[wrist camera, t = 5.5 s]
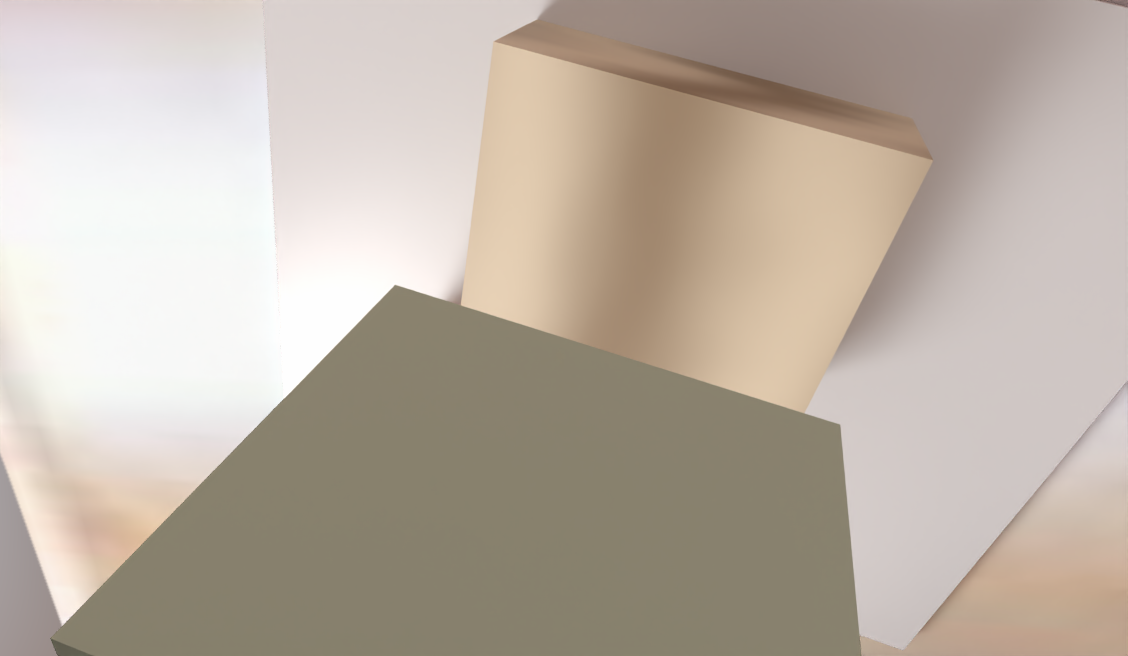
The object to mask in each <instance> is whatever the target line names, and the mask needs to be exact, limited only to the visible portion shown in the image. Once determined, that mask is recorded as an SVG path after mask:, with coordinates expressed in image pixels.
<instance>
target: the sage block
mask: <svg viewBox="0 0 1128 656" xmlns="http://www.w3.org/2000/svg"><path fill="white" fill-rule="evenodd" d="M50 639H51V641H52V643H53V646H54V648H55V651H56V653H57V655H58V656H861V646H860V635H859V624H858V613H857V602H856V591H855V580H854V569H853V558H852V548H851V537H850V526H849V515H848V504H847V493H846V482H845V471H844V460H843V449H842V438H841V427H840V424H837V423H834V422H830V421H827V420H824V419H821V418H818V417H814V416H811V415H808V414H805V413H802V412H799V411H795V410H792V409H789V408H786V407H783V406H779V405H776V404H773V403H770V402H767V401H764V400H760V399H757V398H754V397H751V396H748V395H744V394H741V393H738V392H735V391H732V390H729V389H725V388H722V387H719V386H716V385H713V384H709V383H706V382H703V381H700V380H697V379H694V378H690V377H687V376H684V375H681V374H678V373H674V372H671V371H668V370H665V369H662V368H659V367H655V366H652V365H649V364H646V363H643V362H639V361H636V360H633V359H630V358H627V357H624V356H620V355H617V354H614V353H611V352H608V351H604V350H601V349H598V348H595V347H592V346H589V345H585V344H582V343H579V342H576V341H573V340H569V339H566V338H563V337H560V336H557V335H554V334H550V333H547V332H544V331H541V330H538V329H534V328H531V327H528V326H525V325H522V324H519V323H515V322H512V321H509V320H506V319H503V318H499V317H496V316H493V315H490V314H487V313H484V312H480V311H477V310H474V309H471V308H468V307H464V306H461V305H458V304H455V303H452V302H449V301H445V300H442V299H439V298H436V297H433V296H429V295H426V294H423V293H420V292H417V291H414V290H410V289H407V288H404V287H401V286H398V285H394V286H393V287H392V288H391V290H390V291H389V292H388V293H387V294H386V295H385V296H384V297H383V298H382V299H381V300H380V301H379V302H378V303H377V304H376V305H375V306H374V307H373V308H372V309H371V310H370V311H369V312H368V313H367V314H366V315H365V316H364V317H363V318H362V319H361V320H360V321H359V322H358V323H357V324H356V325H355V326H354V327H353V328H352V330H351V331H350V332H349V333H348V334H347V335H346V336H345V337H344V338H343V339H342V340H341V341H340V342H339V343H338V344H337V345H336V346H335V347H334V348H333V349H332V350H331V351H330V352H329V353H328V354H327V355H326V356H325V357H324V358H323V359H322V360H321V361H320V362H319V363H318V364H317V365H316V366H315V367H314V368H313V370H312V371H311V372H310V373H309V374H308V375H307V376H306V377H305V378H304V379H303V380H302V381H301V382H300V383H299V384H298V385H297V386H296V387H295V388H294V389H293V390H292V391H291V392H290V393H289V394H288V395H287V396H286V397H285V398H284V399H283V400H282V401H281V402H280V403H279V404H278V405H277V406H276V407H275V408H274V409H273V411H272V412H271V413H270V414H269V415H268V416H267V417H266V418H265V419H264V420H263V421H262V422H261V423H260V424H259V425H258V426H257V427H256V428H255V429H254V430H253V431H252V432H251V433H250V434H249V435H248V436H247V437H246V438H245V439H244V440H243V441H242V442H241V443H240V444H239V445H238V446H237V447H236V448H235V449H234V451H233V452H232V453H231V454H230V455H229V456H228V457H227V458H226V459H225V460H224V461H223V462H222V463H221V464H220V465H219V466H218V467H217V468H216V469H215V470H214V471H213V472H212V473H211V474H210V475H209V476H208V477H207V478H206V479H205V480H204V481H203V482H202V483H201V484H200V485H199V486H198V487H197V488H196V489H195V491H194V492H193V493H192V494H191V495H190V496H189V497H188V498H187V499H186V500H185V501H184V502H183V503H182V504H181V505H180V506H179V507H178V508H177V509H176V510H175V511H174V512H173V513H172V514H171V515H170V516H169V517H168V518H167V519H166V520H165V521H164V522H163V523H162V524H161V525H160V526H159V527H158V528H157V529H156V531H155V532H154V533H153V534H152V535H151V536H150V537H149V538H148V539H147V540H146V541H145V542H144V543H143V544H142V545H141V546H140V547H139V548H138V549H137V550H136V551H135V552H134V553H133V554H132V555H131V556H130V557H129V558H128V559H127V560H126V561H125V562H124V563H123V564H122V565H121V566H120V567H119V568H118V569H117V570H116V572H115V573H114V574H113V575H112V576H111V577H110V578H109V579H108V580H107V581H106V582H105V583H104V584H103V585H102V586H101V587H100V588H99V589H98V590H97V591H96V592H95V593H94V594H93V595H92V596H91V597H90V598H89V599H88V600H87V601H86V602H85V603H84V604H83V605H82V606H81V607H80V608H79V609H78V610H77V612H76V613H75V614H74V615H73V616H72V617H71V618H70V619H69V620H68V621H67V622H66V623H65V624H64V625H63V626H62V627H61V628H60V629H59V630H58V631H57V632H56V633H55V634H54V635H53V636H52V637H51V638H50Z"/></svg>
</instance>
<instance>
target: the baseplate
mask: <svg viewBox="0 0 1128 656" xmlns="http://www.w3.org/2000/svg"><path fill="white" fill-rule="evenodd" d="M263 15H264V34H265V52H266V71H267V90H268V109H269V128H270V147H271V165H272V184H273V203H274V222H275V241H276V259H277V278H278V297H279V316H280V335H281V354H282V372H283V391H284V398H285V397H286V396H287V395H288V394H289V393H290V392H291V391H292V390H293V389H294V388H295V387H296V386H297V385H298V384H299V383H300V382H301V381H302V380H303V379H304V378H305V377H306V376H307V375H308V374H309V373H310V372H311V371H312V370H313V368H314V367H315V366H316V365H317V364H318V363H319V362H320V361H321V360H322V359H323V358H324V357H325V356H326V355H327V354H328V353H329V352H330V351H331V350H332V349H333V348H334V347H335V346H336V345H337V344H338V343H339V342H340V341H341V340H342V339H343V338H344V337H345V336H346V335H347V334H348V333H349V332H350V331H351V330H352V328H353V327H354V326H355V325H356V324H357V323H358V322H359V321H360V320H361V319H362V318H363V317H364V316H365V315H366V314H367V313H368V312H369V311H370V310H371V309H372V308H373V307H374V306H375V305H376V304H377V303H378V302H379V301H380V300H381V299H382V298H383V297H384V296H385V295H386V294H387V293H388V292H389V291H390V290H391V288H392V287H393V286H394V285H398V286H401V287H404V288H407V289H410V290H414V291H417V292H420V293H423V294H426V295H429V296H433V297H436V298H439V299H442V300H445V301H449V302H452V303H455V304H458V305H461V300H462V291H463V283H464V275H465V267H466V259H467V251H468V243H469V235H470V227H471V218H472V210H473V202H474V194H475V186H476V178H477V170H478V162H479V154H480V145H481V137H482V129H483V121H484V113H485V105H486V97H487V89H488V81H489V72H490V64H491V56H492V48H493V41H495V40H497V39H499V38H501V37H503V36H505V35H507V34H509V33H511V32H513V31H515V30H517V29H519V28H521V27H523V26H525V25H527V24H529V23H531V22H533V21H535V20H541V21H545V22H549V23H553V24H556V25H560V26H564V27H568V28H572V29H575V30H579V31H583V32H587V33H590V34H594V35H598V36H602V37H606V38H609V39H613V40H617V41H621V42H625V43H628V44H632V45H636V46H640V47H644V48H647V49H651V50H655V51H659V52H662V53H666V54H670V55H674V56H678V57H681V58H685V59H689V60H693V61H697V62H700V63H704V64H708V65H712V66H716V67H719V68H723V69H727V70H731V71H734V72H738V73H742V74H746V75H750V76H753V77H757V78H761V79H765V80H769V81H772V82H776V83H780V84H784V85H788V86H791V87H795V88H799V89H803V90H806V91H810V92H814V93H818V94H822V95H825V96H829V97H833V98H837V99H841V100H844V101H848V102H852V103H856V104H860V105H863V106H867V107H871V108H875V109H878V110H882V111H886V112H890V113H894V114H897V115H901V116H905V117H909V118H912V119H913V121H914V123H915V125H916V127H917V129H918V131H919V133H920V135H921V137H922V139H923V141H924V143H925V145H926V147H927V149H928V151H929V153H930V155H931V157H932V159H933V162H932V164H931V166H930V168H929V170H928V172H927V174H926V176H925V178H924V180H923V182H922V184H921V186H920V188H919V190H918V192H917V193H916V195H915V197H914V199H913V201H912V203H911V205H910V207H909V209H908V211H907V213H906V215H905V217H904V219H903V221H902V223H901V225H900V227H899V229H898V231H897V233H896V235H895V237H894V239H893V241H892V242H891V244H890V246H889V248H888V250H887V252H886V254H885V256H884V258H883V260H882V262H881V264H880V266H879V268H878V270H877V272H876V274H875V276H874V278H873V280H872V282H871V284H870V286H869V288H868V290H867V291H866V293H865V295H864V297H863V299H862V301H861V303H860V305H859V307H858V309H857V311H856V313H855V315H854V317H853V319H852V321H851V323H850V325H849V327H848V329H847V331H846V333H845V335H844V337H843V339H842V340H841V342H840V344H839V346H838V348H837V350H836V352H835V354H834V356H833V358H832V360H831V362H830V364H829V366H828V368H827V370H826V372H825V374H824V376H823V378H822V380H821V382H820V384H819V386H818V388H817V389H816V391H815V393H814V395H813V397H812V399H811V401H810V403H809V405H808V407H807V409H806V411H805V414H808V415H811V416H814V417H818V418H821V419H824V420H827V421H830V422H834V423H837V424H840V427H841V438H842V449H843V460H844V471H845V482H846V493H847V504H848V515H849V526H850V537H851V548H852V558H853V569H854V580H855V591H856V602H857V613H858V624H859V635H861V636H864V637H867V638H869V639H872V640H875V641H878V642H881V643H883V644H886V645H889V646H892V647H895V648H897V649H900V650H904V649H905V648H906V647H907V645H908V644H909V643H910V642H911V641H912V639H913V638H914V637H915V636H916V635H917V633H918V632H919V631H920V630H921V629H922V627H923V626H924V625H925V624H926V623H927V621H928V620H929V619H930V618H931V617H932V615H933V614H934V613H935V612H936V611H937V609H938V608H939V607H940V606H941V605H942V603H943V602H944V601H945V600H946V598H947V597H948V596H949V595H950V594H951V592H952V591H953V590H954V589H955V588H956V586H957V585H958V584H959V583H960V582H961V580H962V579H963V578H964V577H965V576H966V574H967V573H968V572H969V571H970V570H971V568H972V567H973V566H974V565H975V564H976V562H977V561H978V560H979V559H980V558H981V556H982V555H983V554H984V553H985V552H986V550H987V549H988V548H989V547H990V546H991V544H992V543H993V542H994V541H995V540H996V538H997V537H998V536H999V535H1000V534H1001V532H1002V531H1003V530H1004V529H1005V528H1006V526H1007V525H1008V524H1009V523H1010V521H1011V520H1012V519H1013V518H1014V517H1015V515H1016V514H1017V513H1018V512H1019V511H1020V509H1021V508H1022V507H1023V506H1024V505H1025V503H1026V502H1027V501H1028V500H1029V499H1030V497H1031V496H1032V495H1033V494H1034V493H1035V491H1036V490H1037V489H1038V488H1039V487H1040V485H1041V484H1042V483H1043V482H1044V481H1045V479H1046V478H1047V477H1048V476H1049V475H1050V473H1051V472H1052V471H1053V470H1054V469H1055V467H1056V466H1057V465H1058V464H1059V463H1060V461H1061V460H1062V459H1063V458H1064V457H1065V455H1066V454H1067V453H1068V452H1069V451H1070V449H1071V448H1072V447H1073V446H1074V444H1075V443H1076V442H1077V441H1078V440H1079V438H1080V437H1081V436H1082V435H1083V434H1084V432H1085V431H1086V430H1087V429H1088V428H1089V426H1090V425H1091V424H1092V423H1093V422H1094V420H1095V419H1096V418H1097V417H1098V416H1099V414H1100V413H1101V412H1102V411H1103V410H1104V408H1105V407H1106V406H1107V405H1108V404H1109V402H1110V401H1111V400H1112V399H1113V398H1114V396H1115V395H1116V394H1117V393H1118V392H1119V390H1120V389H1121V388H1122V387H1123V386H1124V384H1125V383H1126V382H1127V381H1128V7H1127V6H1122V5H1118V4H1114V3H1110V2H1105V1H1101V0H263Z"/></svg>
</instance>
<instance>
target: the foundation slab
mask: <svg viewBox="0 0 1128 656" xmlns="http://www.w3.org/2000/svg"><path fill="white" fill-rule="evenodd" d="M932 162H933V159H932V157H931V155H930V153H929V151H928V149H927V147H926V145H925V143H924V141H923V139H922V137H921V135H920V133H919V131H918V129H917V127H916V125H915V123H914V121H913V119H912V118H909V117H905V116H901V115H897V114H894V113H890V112H886V111H882V110H878V109H875V108H871V107H867V106H863V105H860V104H856V103H852V102H848V101H844V100H841V99H837V98H833V97H829V96H825V95H822V94H818V93H814V92H810V91H806V90H803V89H799V88H795V87H791V86H788V85H784V84H780V83H776V82H772V81H769V80H765V79H761V78H757V77H753V76H750V75H746V74H742V73H738V72H734V71H731V70H727V69H723V68H719V67H716V66H712V65H708V64H704V63H700V62H697V61H693V60H689V59H685V58H681V57H678V56H674V55H670V54H666V53H662V52H659V51H655V50H651V49H647V48H644V47H640V46H636V45H632V44H628V43H625V42H621V41H617V40H613V39H609V38H606V37H602V36H598V35H594V34H590V33H587V32H583V31H579V30H575V29H572V28H568V27H564V26H560V25H556V24H553V23H549V22H545V21H541V20H535V21H533V22H531V23H529V24H527V25H525V26H523V27H521V28H519V29H517V30H515V31H513V32H511V33H509V34H507V35H505V36H503V37H501V38H499V39H497V40H495V41H493V48H492V56H491V64H490V72H489V81H488V89H487V97H486V105H485V113H484V121H483V129H482V137H481V145H480V154H479V162H478V170H477V178H476V186H475V194H474V202H473V210H472V218H471V227H470V235H469V243H468V251H467V259H466V267H465V275H464V283H463V291H462V300H461V306H464V307H468V308H471V309H474V310H477V311H480V312H484V313H487V314H490V315H493V316H496V317H499V318H503V319H506V320H509V321H512V322H515V323H519V324H522V325H525V326H528V327H531V328H534V329H538V330H541V331H544V332H547V333H550V334H554V335H557V336H560V337H563V338H566V339H569V340H573V341H576V342H579V343H582V344H585V345H589V346H592V347H595V348H598V349H601V350H604V351H608V352H611V353H614V354H617V355H620V356H624V357H627V358H630V359H633V360H636V361H639V362H643V363H646V364H649V365H652V366H655V367H659V368H662V369H665V370H668V371H671V372H674V373H678V374H681V375H684V376H687V377H690V378H694V379H697V380H700V381H703V382H706V383H709V384H713V385H716V386H719V387H722V388H725V389H729V390H732V391H735V392H738V393H741V394H744V395H748V396H751V397H754V398H757V399H760V400H764V401H767V402H770V403H773V404H776V405H779V406H783V407H786V408H789V409H792V410H795V411H799V412H802V413H805V411H806V409H807V407H808V405H809V403H810V401H811V399H812V397H813V395H814V393H815V391H816V389H817V388H818V386H819V384H820V382H821V380H822V378H823V376H824V374H825V372H826V370H827V368H828V366H829V364H830V362H831V360H832V358H833V356H834V354H835V352H836V350H837V348H838V346H839V344H840V342H841V340H842V339H843V337H844V335H845V333H846V331H847V329H848V327H849V325H850V323H851V321H852V319H853V317H854V315H855V313H856V311H857V309H858V307H859V305H860V303H861V301H862V299H863V297H864V295H865V293H866V291H867V290H868V288H869V286H870V284H871V282H872V280H873V278H874V276H875V274H876V272H877V270H878V268H879V266H880V264H881V262H882V260H883V258H884V256H885V254H886V252H887V250H888V248H889V246H890V244H891V242H892V241H893V239H894V237H895V235H896V233H897V231H898V229H899V227H900V225H901V223H902V221H903V219H904V217H905V215H906V213H907V211H908V209H909V207H910V205H911V203H912V201H913V199H914V197H915V195H916V193H917V192H918V190H919V188H920V186H921V184H922V182H923V180H924V178H925V176H926V174H927V172H928V170H929V168H930V166H931V164H932Z"/></svg>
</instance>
